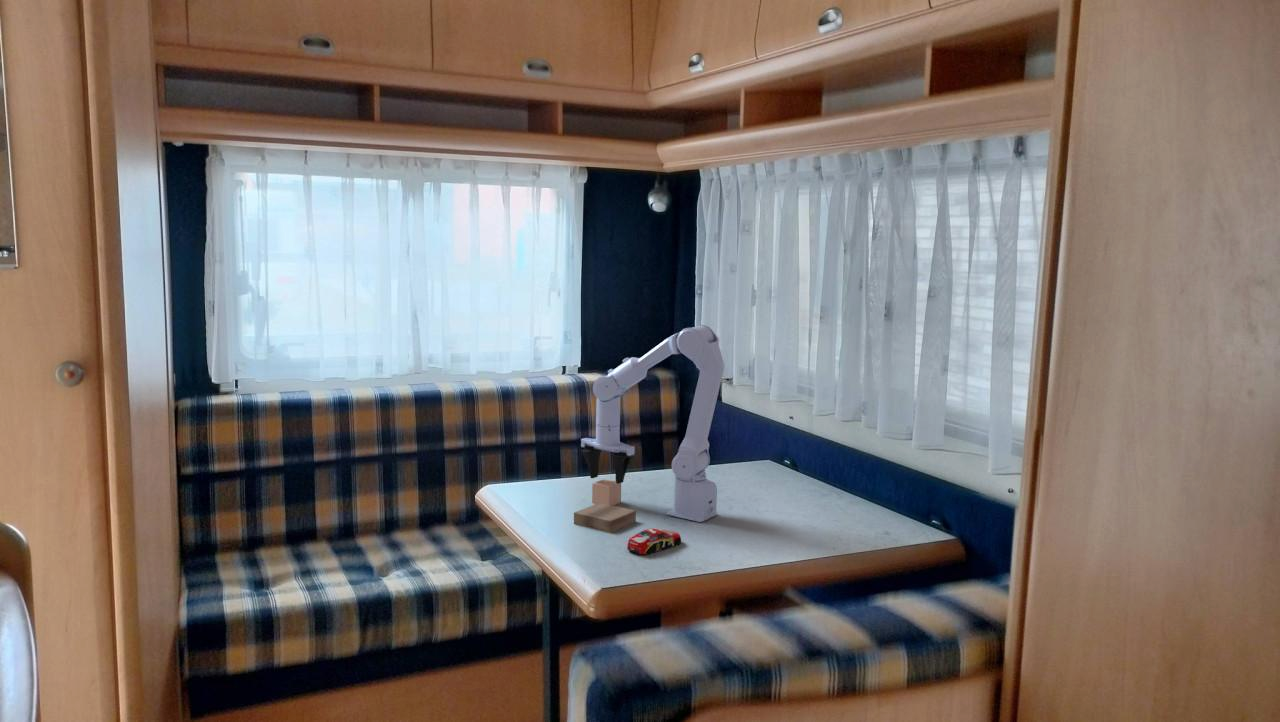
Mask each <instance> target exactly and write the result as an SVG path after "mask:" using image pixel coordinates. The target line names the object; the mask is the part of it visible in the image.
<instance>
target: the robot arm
mask: <svg viewBox="0 0 1280 722" xmlns="http://www.w3.org/2000/svg"><path fill="white" fill-rule="evenodd" d="M719 343H720V339H719V337H718V336H717V334H716V333H715V332H714V331H713V329H712V328H711V327H710V326H707V325H706V324H698V325H696V326H693V327H686V328H683V329H682V330H681V331H679V332H676V333H674V334H672V335H670V336H669V337H667V338H665V339H664V340H663V341H662V342H660V343H659V344H658V345H656V346H655V347H653V348H652V349H650V350H649V351H648V352H647V353H645V354H644V355H643V356H641V357H635V356H634V357H633V356H631V357H625V358H624V359H623V360H622V363H621V364H620V365H618V366H617V367H616V368H614V369H613V368H610V369H609V370H607V373H608V374H607V375H602V376H599V377H597V379H596V380H595V381H594V382H593V385H592V392H593V395H594V396H595V397H596V406H595V407H596V409H595V410H596V414H595V415H596V416H595V438H589V437H584V438H581V439H580V442H581V443H580V447H581V448H583V449H582V450H581V454H582V456H583V458H584V459H585V463H586V465H587V468H588V472H589V478H590V479H595V478H597V477H599V466H600V465H599V464H600V457H601V452H602V451H606V452H611V453H617V454H614V455H612V458H613V462H614V468H615V469H614V470H615V481H616V483H617V484H619V483H621V484H622V483H624V479H625V475H626V472H627V470H628V467H629V465H630V463H631V462H632V460H633V458H634V455H635V446H634V445H630V444H627V443H624V442H621V441H620V438H621V437H620V434H621V433H620V429H621V428H620V427H621V398H622V395H624V393H625V391H628V390H629V389H630V388H632V387H633V386H635V385H637V384H638V383H640V382H641V381H643V379H645V378H646V377H647V373H648V370H649V369H651V368H652V367H654V366H655V365H657V364H659V363H660V362H662V361H663V360H665V359H667V358H668V357H670V356H671V355H679V354H682V355H684V356H685V357H687V358H688V359H689V360H690V361H692V362H693V364H694V365H695V366H696V368H697V370H699V374H698V380H697V384H696V387H695V393H694V397H693V400H692V401H693V402H692V405H691V408H690V409H691V410H690V414H689V418H688V423H687V428H686V432H685V436H684V438H683V440H682V442H681V443H680V446H678V447H679V448H678V451H677V454H676V455H675V456H674V457H673V459H672V461H671V469H672V470H671V471H672V473H673V474H674V496H673V498H674V499H673V501H674V502H673V503H674V504H673V505H674V506H673V509H671V510H670V511H668V512H666V515H667V516H671V517H675V518H679V519H684V520H689V521H693V522H698V523H703V522H705V521H707V520H709V519H711V518H712V517H715V516H718V512H717V504H718V503H717V500H718V499H717V498H718V488H717V485H716V484H717V483H716V482H714V481H711V480H709V479H708V478H707V473H706V469H707V468H708V467H709V465H710V461H711V458H710V453H709V449H710V442H709V440H708V438H709V434H710V430H711V427H712V426H711V425H712V421H713V417H714V412H715V408H716V404H717V400H718V396H719V392H720V387H721V383H722V378H723V374H724V370H725V362H724V359H723V356H722V353H721V348H720V344H719Z"/></svg>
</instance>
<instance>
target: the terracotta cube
mask: <svg viewBox="0 0 1280 722" xmlns="http://www.w3.org/2000/svg"><path fill="white" fill-rule="evenodd" d="M591 485H592V491H591V493H592V494H591V498H592V500H591V503H592V504H594V505H596V504H599V503H604V504H608V505H613V506H616V505H617V504H620V503H622V483H619V484H617V483H616V480H610V479H606V478H605V479H602V480H598V481H596V482H593V483H591Z"/></svg>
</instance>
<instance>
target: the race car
mask: <svg viewBox="0 0 1280 722" xmlns="http://www.w3.org/2000/svg"><path fill="white" fill-rule="evenodd" d="M681 542H682V537H681V535H680V534H679V533H678V532H676V531H674V530H667V529H666V530H665V529H664V530H659V529H657V528H648V529H647V528H646V529H644V530H642V531H640V532H638V533H636V534H634V536H632V537H630V538H629V539H628V541H627V545H626V546H627V550H628V551H629V552H634V553H636V554H639V555H649V554H650V555H652V554H651V553H653V554H654V553H656V552H659V551H662V550H667V549H669V548H672V547H677V546H680V544H681Z"/></svg>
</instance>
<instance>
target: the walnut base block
mask: <svg viewBox="0 0 1280 722" xmlns="http://www.w3.org/2000/svg"><path fill="white" fill-rule="evenodd" d="M636 522H637V510H635V509H629V508H626V507H621V506H617V505H608V504H604V503H599V504H594V505H591V506H588V507H585V508H582V509H580V510H578V511H574V512H573V525H577V526H581V527H585V528H589V529H594V530H598V531H602V532H606V533H612V532H615V531H616V530H620V529H622V528H624V527H626V526H628V525H629V526H630V525H631V524H633V523H636Z"/></svg>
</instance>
